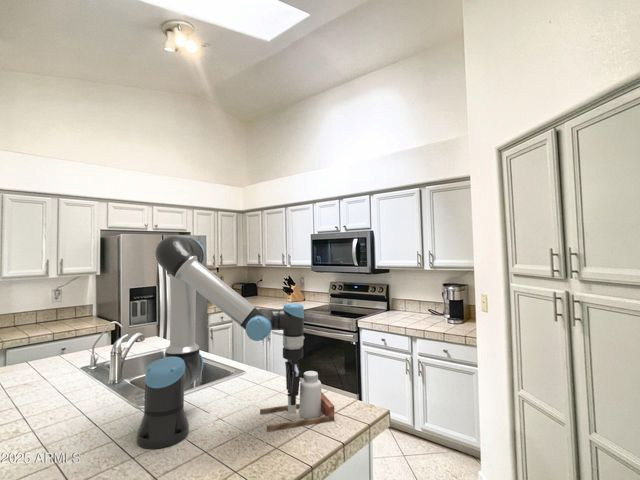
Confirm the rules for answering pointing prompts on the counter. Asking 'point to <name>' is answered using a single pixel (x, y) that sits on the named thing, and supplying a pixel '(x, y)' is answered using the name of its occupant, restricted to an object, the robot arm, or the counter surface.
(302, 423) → the guide channel
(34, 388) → the counter surface
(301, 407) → the pill bottle
